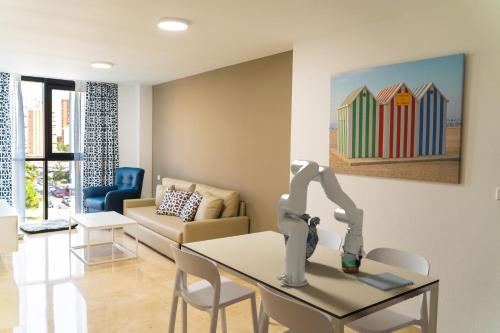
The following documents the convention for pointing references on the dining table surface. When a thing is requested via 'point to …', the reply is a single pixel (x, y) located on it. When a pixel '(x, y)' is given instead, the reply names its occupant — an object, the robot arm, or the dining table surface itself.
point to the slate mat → (385, 281)
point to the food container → (349, 262)
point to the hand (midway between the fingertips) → (352, 264)
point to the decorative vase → (312, 235)
